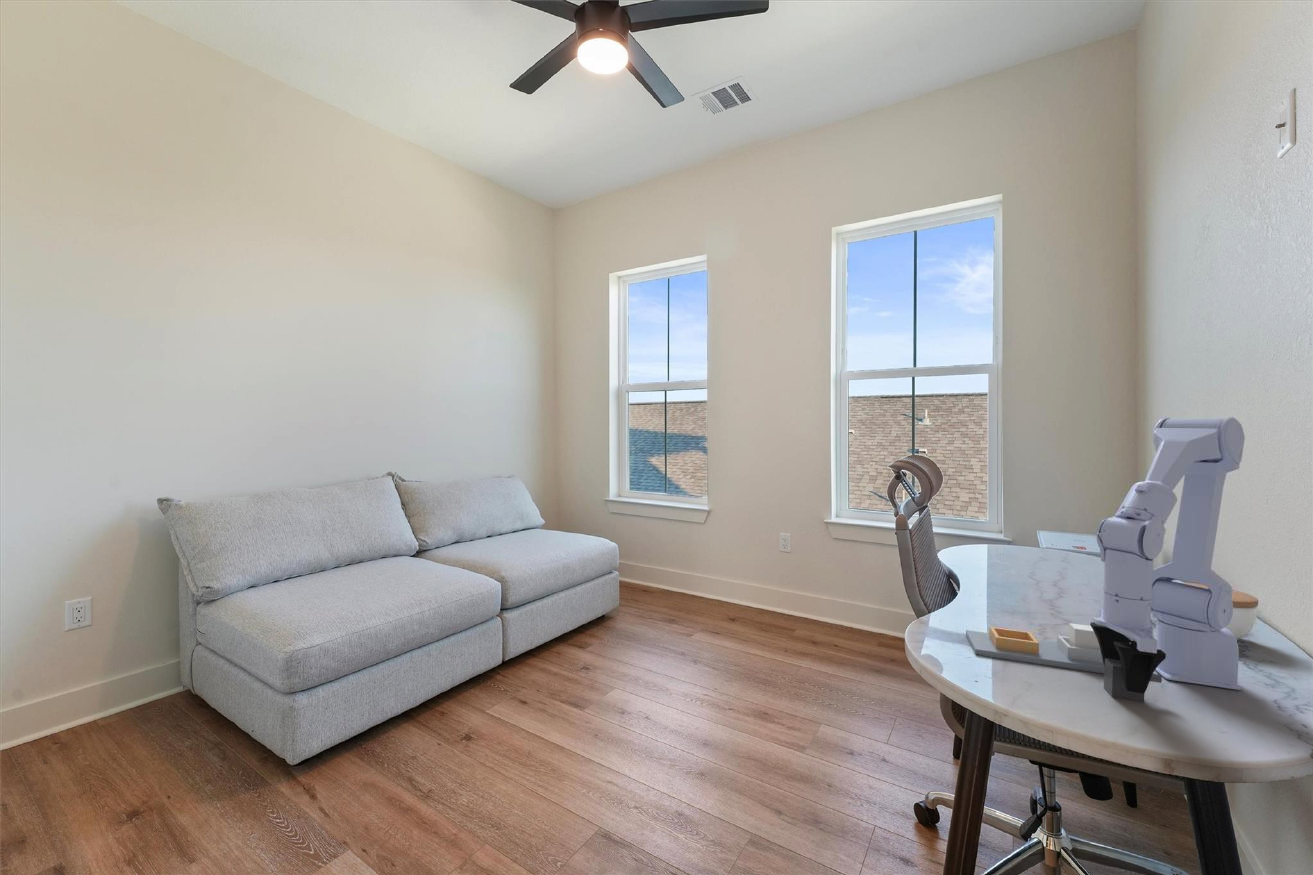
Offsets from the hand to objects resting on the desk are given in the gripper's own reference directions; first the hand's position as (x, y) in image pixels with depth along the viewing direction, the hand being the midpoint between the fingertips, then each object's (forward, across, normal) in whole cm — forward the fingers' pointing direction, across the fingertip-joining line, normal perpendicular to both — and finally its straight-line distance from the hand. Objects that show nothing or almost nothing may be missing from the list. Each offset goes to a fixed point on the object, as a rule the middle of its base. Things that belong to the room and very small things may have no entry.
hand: (1123, 680), depth 84 cm
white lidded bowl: (+2, -38, +28) cm, 47 cm away
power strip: (+2, -13, -7) cm, 15 cm away
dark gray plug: (+2, 0, +1) cm, 3 cm away
